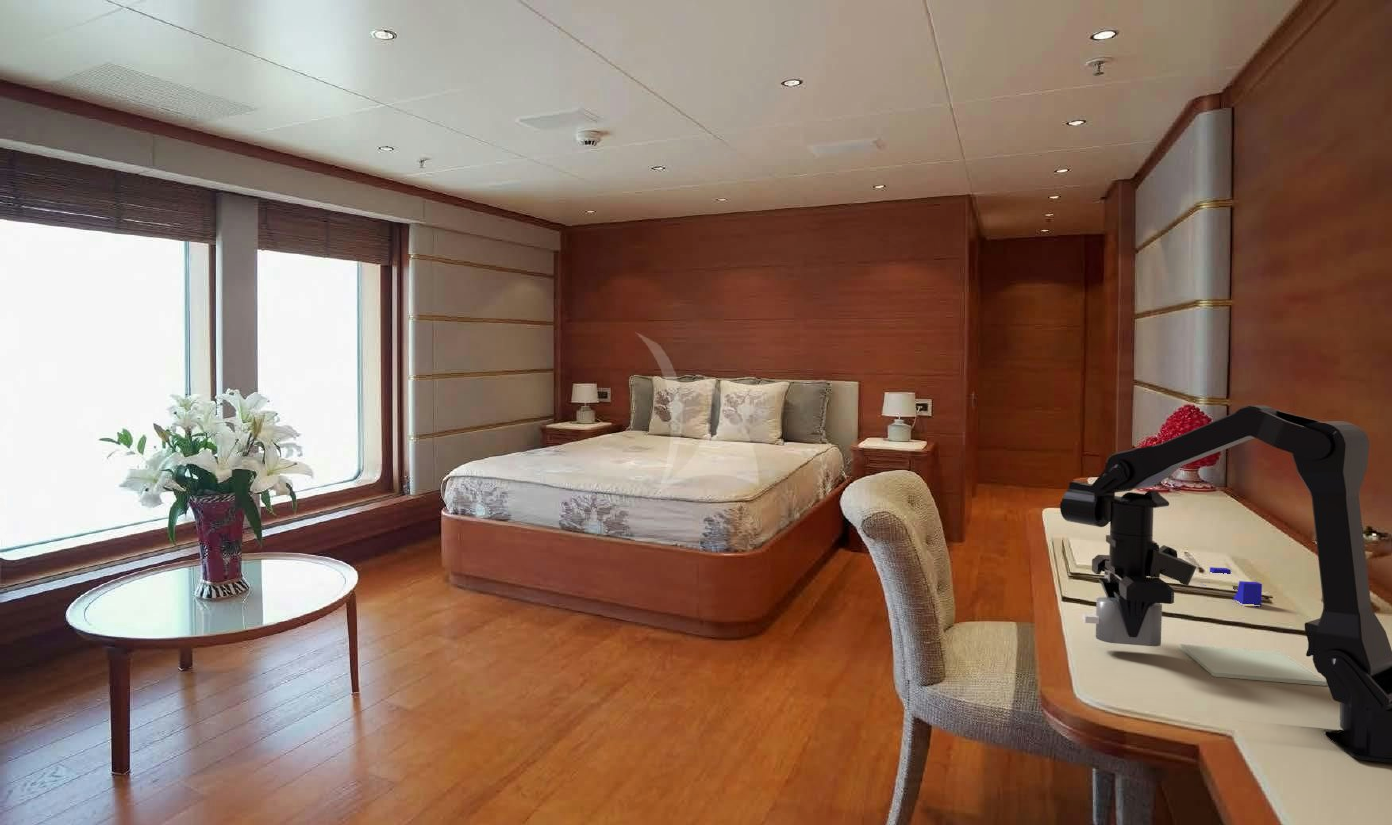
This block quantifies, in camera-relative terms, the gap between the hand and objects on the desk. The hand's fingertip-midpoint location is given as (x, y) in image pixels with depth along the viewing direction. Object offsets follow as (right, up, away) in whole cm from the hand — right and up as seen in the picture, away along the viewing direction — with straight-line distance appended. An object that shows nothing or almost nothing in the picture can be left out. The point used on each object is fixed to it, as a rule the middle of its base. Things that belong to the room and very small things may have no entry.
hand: (1128, 632), depth 117 cm
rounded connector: (0, -1, 0) cm, 1 cm away
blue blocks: (+34, -3, +26) cm, 43 cm away
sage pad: (+15, -4, -5) cm, 16 cm away
